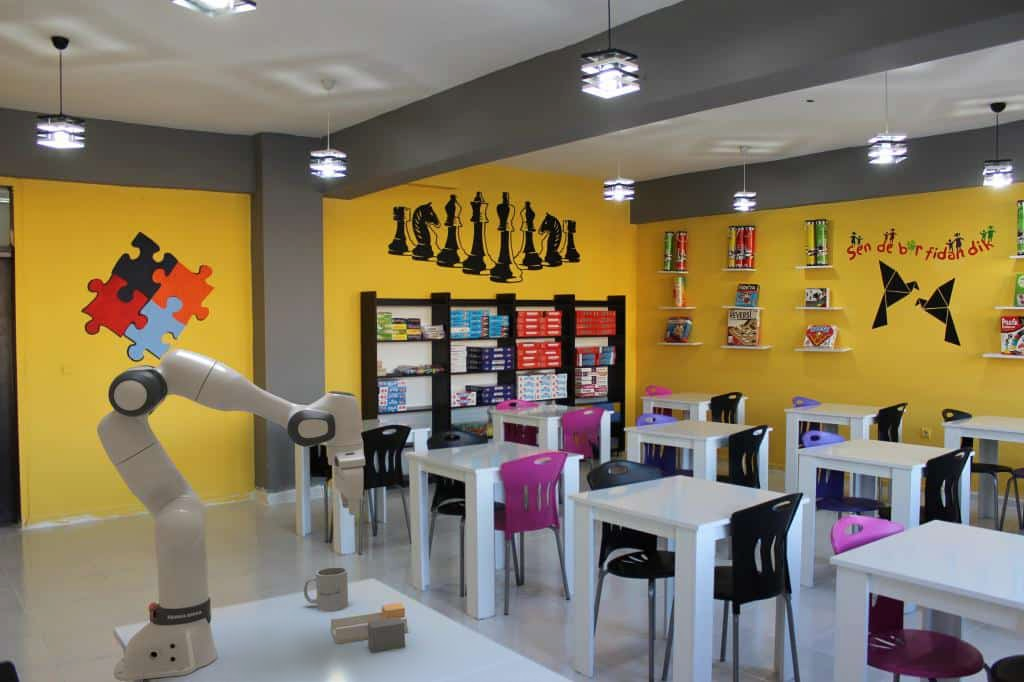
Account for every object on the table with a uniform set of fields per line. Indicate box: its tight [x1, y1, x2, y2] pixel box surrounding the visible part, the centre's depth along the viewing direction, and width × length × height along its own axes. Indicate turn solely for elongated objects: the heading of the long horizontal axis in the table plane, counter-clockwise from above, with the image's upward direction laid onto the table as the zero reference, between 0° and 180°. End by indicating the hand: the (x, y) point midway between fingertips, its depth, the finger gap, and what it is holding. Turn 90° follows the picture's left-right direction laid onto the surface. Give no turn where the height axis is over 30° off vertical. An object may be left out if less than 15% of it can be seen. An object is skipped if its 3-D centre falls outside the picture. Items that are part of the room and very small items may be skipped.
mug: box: [303, 566, 349, 613], centre depth 232 cm, size 12×9×10 cm
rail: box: [330, 602, 409, 645], centre depth 210 cm, size 18×10×6 cm, turn 111°
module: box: [367, 617, 406, 654], centre depth 199 cm, size 8×5×6 cm, turn 111°
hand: (349, 511), depth 202 cm, fingers open, 8 cm apart
